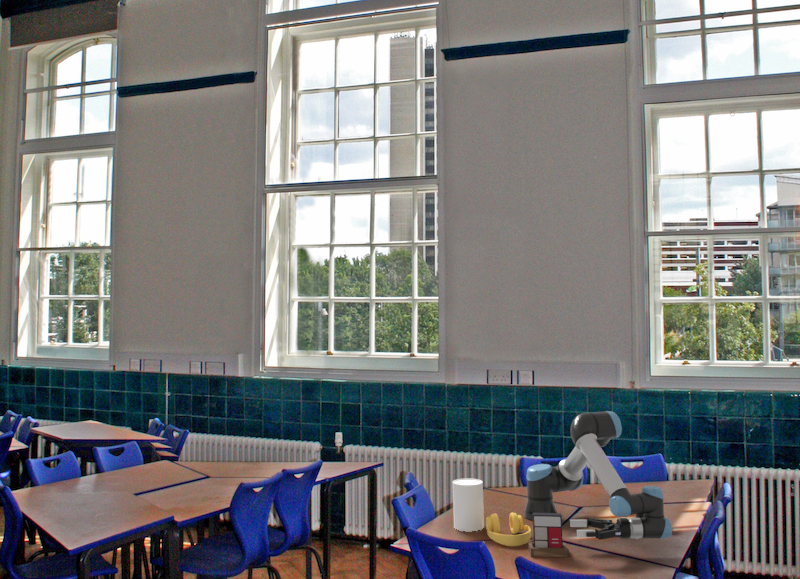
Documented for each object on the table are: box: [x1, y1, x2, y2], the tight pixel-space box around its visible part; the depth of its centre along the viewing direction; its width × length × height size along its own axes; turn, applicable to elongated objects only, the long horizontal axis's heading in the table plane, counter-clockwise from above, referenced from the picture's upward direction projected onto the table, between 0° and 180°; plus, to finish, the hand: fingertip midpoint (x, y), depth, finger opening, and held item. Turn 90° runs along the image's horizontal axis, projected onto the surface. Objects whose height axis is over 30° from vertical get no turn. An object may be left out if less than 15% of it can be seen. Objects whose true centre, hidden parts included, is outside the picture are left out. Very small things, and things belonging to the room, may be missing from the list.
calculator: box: [532, 512, 564, 548], centre depth 254 cm, size 11×4×15 cm, turn 80°
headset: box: [485, 511, 532, 547], centre depth 273 cm, size 18×21×9 cm
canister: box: [452, 477, 485, 533], centre depth 290 cm, size 14×14×20 cm
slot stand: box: [527, 541, 570, 558], centre depth 253 cm, size 8×14×3 cm, turn 86°
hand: (573, 528), depth 253 cm, fingers open, 13 cm apart
